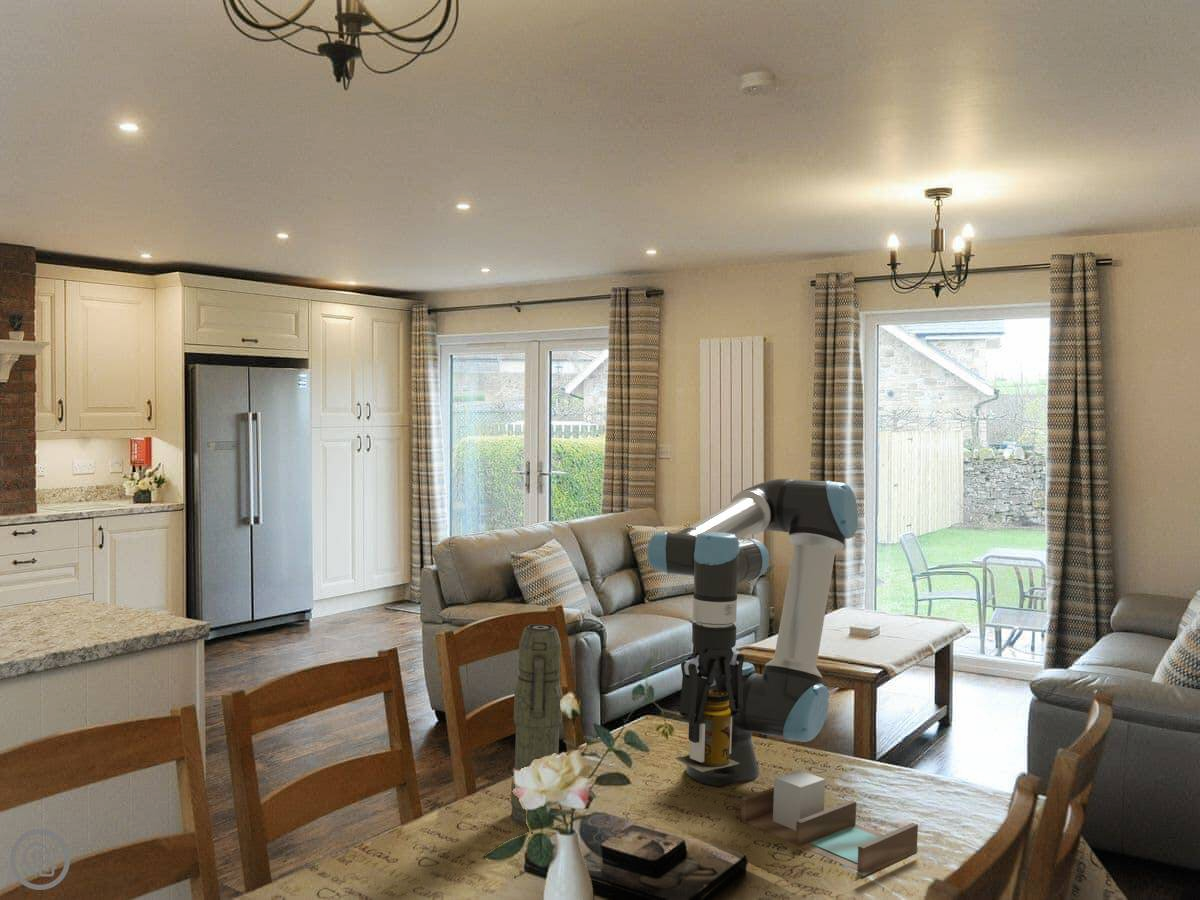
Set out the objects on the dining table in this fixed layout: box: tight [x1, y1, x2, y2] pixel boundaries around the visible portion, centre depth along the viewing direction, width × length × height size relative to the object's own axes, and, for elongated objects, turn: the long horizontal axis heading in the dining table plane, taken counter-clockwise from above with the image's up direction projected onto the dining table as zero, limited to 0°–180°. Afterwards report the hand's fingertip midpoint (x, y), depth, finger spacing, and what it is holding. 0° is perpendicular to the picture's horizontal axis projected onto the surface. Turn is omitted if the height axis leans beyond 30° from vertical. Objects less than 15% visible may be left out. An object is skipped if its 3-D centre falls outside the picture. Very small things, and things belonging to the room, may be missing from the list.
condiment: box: [675, 689, 739, 772], centre depth 167 cm, size 7×8×12 cm
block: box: [773, 769, 826, 831], centre depth 176 cm, size 6×7×8 cm
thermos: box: [510, 623, 564, 827], centre depth 177 cm, size 9×12×35 cm
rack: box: [740, 787, 919, 880], centre depth 171 cm, size 26×16×5 cm, turn 40°
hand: (710, 755), depth 167 cm, fingers closed on condiment, 6 cm apart
